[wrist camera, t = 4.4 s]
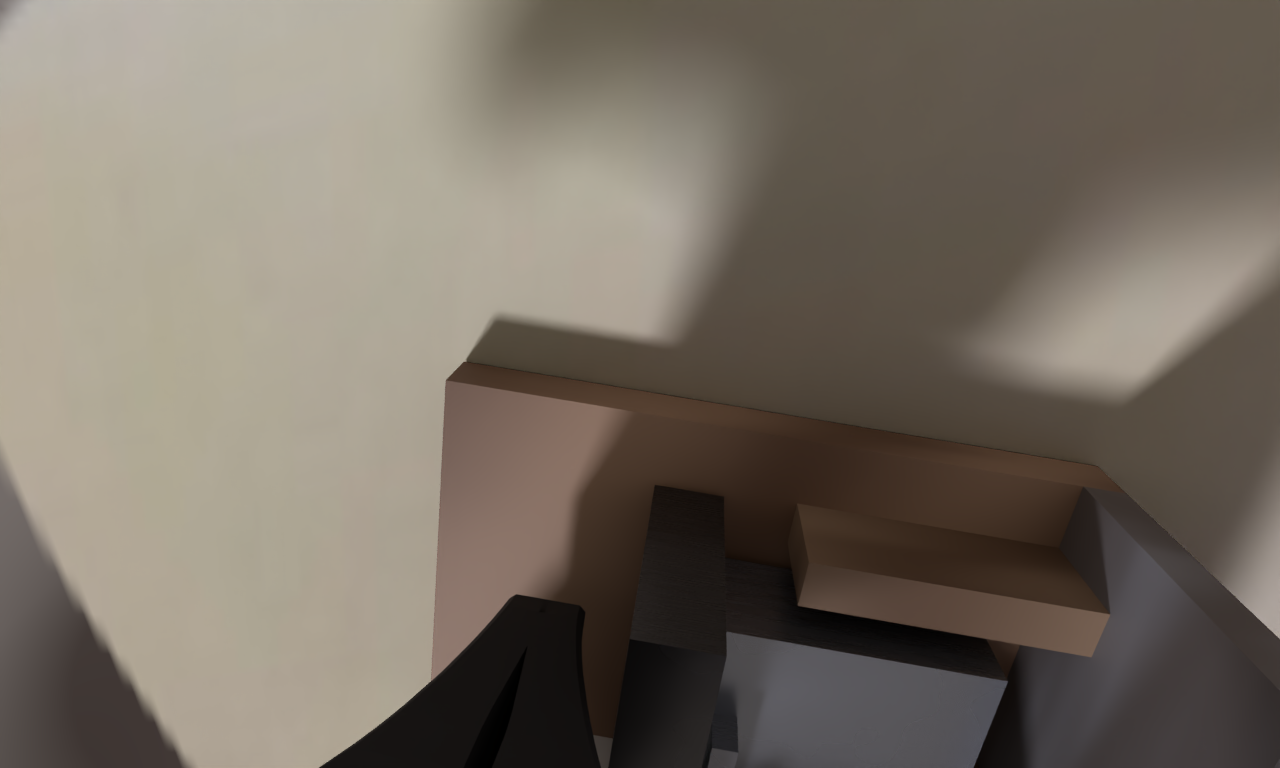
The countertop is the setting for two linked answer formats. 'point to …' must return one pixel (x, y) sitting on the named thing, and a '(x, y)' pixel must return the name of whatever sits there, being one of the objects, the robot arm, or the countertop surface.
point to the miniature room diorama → (859, 560)
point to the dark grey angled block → (782, 668)
